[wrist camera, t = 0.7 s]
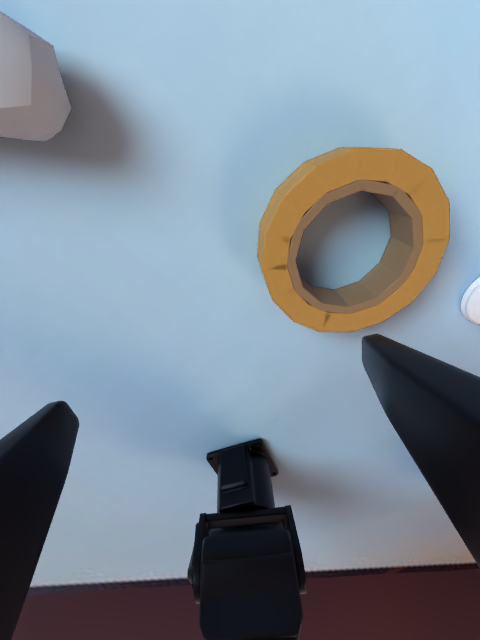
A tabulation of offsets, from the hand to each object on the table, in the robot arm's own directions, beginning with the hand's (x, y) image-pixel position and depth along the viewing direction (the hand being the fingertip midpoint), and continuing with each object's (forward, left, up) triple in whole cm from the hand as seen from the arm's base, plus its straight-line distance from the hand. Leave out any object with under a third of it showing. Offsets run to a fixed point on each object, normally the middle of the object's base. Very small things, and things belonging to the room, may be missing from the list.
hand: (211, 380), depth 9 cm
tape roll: (-3, -8, -14) cm, 16 cm away
